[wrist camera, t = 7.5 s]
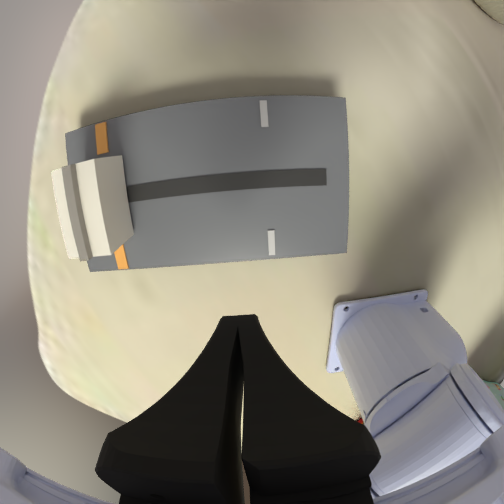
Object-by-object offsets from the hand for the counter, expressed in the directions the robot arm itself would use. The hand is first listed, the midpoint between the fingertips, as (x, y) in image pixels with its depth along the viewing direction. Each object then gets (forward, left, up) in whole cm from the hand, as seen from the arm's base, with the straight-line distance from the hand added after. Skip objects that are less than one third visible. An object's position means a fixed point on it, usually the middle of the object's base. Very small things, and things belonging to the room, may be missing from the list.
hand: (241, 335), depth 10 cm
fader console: (+2, -5, -9) cm, 11 cm away
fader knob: (+8, -5, -7) cm, 12 cm away
